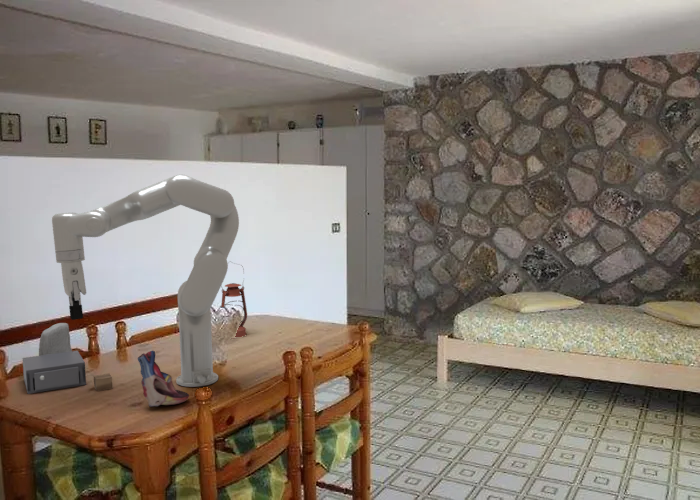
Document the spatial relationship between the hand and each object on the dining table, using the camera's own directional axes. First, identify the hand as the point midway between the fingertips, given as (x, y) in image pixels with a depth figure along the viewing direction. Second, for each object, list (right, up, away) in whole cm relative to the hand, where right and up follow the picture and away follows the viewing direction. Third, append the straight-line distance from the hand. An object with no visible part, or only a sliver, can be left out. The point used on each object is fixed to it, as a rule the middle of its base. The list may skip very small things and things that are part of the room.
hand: (76, 318), depth 186 cm
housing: (-12, -21, +13) cm, 27 cm away
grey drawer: (-11, -20, +11) cm, 26 cm away
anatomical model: (+28, -23, -9) cm, 37 cm away
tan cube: (+5, -21, +7) cm, 23 cm away
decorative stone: (-19, -20, +28) cm, 39 cm away
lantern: (+33, -14, +70) cm, 79 cm away
